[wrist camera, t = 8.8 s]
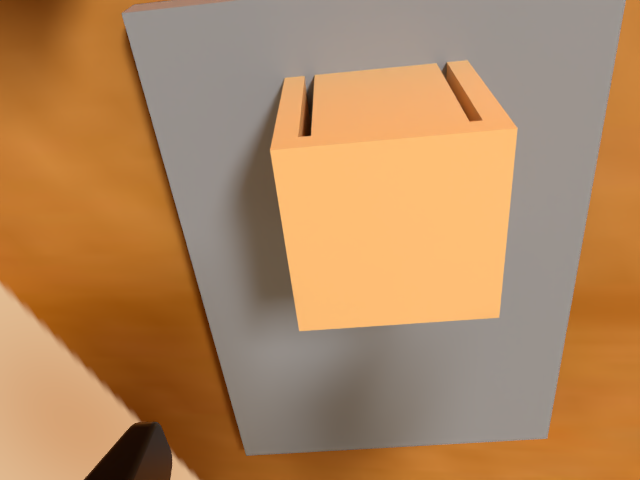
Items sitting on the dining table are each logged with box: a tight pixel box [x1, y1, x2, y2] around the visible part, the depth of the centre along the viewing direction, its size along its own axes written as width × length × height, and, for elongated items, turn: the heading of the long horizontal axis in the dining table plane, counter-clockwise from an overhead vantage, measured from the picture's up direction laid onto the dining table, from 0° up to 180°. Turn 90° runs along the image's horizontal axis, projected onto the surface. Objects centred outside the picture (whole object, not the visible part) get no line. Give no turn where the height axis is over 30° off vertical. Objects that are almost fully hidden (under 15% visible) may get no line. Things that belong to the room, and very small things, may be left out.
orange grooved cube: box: [270, 60, 518, 331], centre depth 16 cm, size 5×5×5 cm
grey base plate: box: [122, 0, 626, 456], centre depth 20 cm, size 20×14×5 cm
